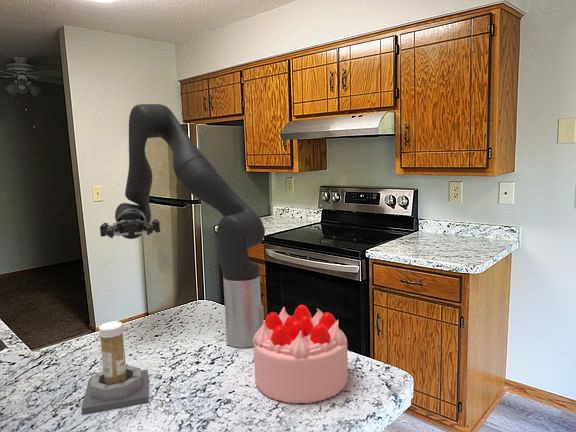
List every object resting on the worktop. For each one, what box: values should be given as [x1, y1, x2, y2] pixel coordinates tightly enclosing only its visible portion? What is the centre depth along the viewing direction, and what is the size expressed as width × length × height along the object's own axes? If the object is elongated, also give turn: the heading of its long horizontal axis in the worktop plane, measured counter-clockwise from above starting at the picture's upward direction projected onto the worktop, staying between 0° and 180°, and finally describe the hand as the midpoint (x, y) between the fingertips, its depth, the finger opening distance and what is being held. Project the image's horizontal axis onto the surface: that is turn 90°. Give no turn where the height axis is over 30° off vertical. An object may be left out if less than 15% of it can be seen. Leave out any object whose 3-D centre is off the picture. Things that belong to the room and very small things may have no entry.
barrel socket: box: [80, 364, 149, 415], centre depth 92 cm, size 12×12×4 cm
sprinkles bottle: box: [98, 320, 127, 385], centre depth 91 cm, size 5×5×14 cm
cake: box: [252, 304, 349, 404], centre depth 95 cm, size 20×20×14 cm
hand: (129, 232), depth 108 cm, fingers open, 8 cm apart
